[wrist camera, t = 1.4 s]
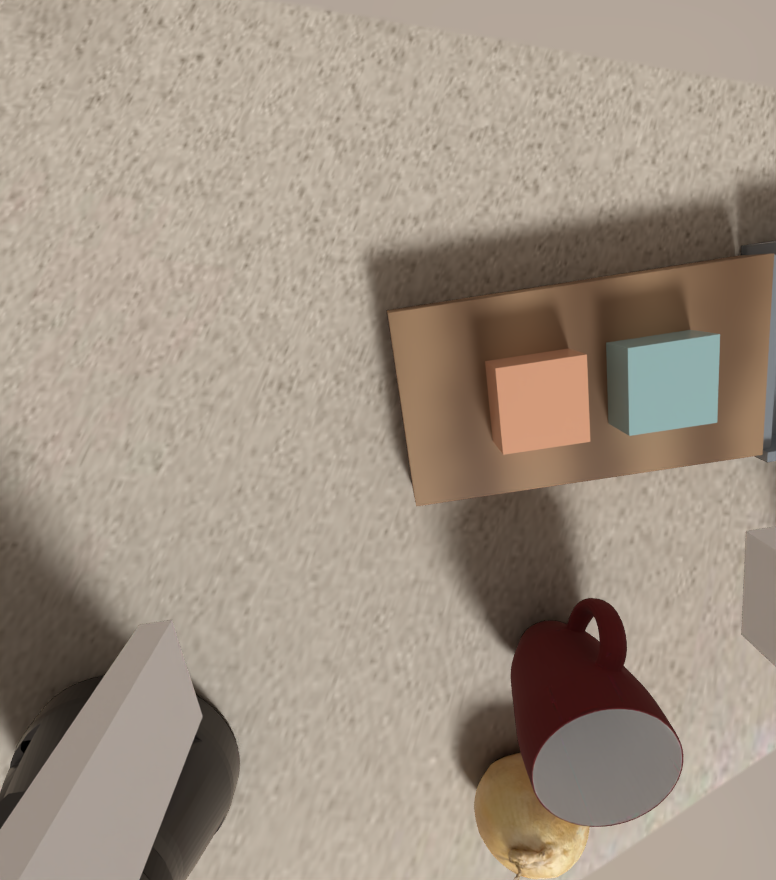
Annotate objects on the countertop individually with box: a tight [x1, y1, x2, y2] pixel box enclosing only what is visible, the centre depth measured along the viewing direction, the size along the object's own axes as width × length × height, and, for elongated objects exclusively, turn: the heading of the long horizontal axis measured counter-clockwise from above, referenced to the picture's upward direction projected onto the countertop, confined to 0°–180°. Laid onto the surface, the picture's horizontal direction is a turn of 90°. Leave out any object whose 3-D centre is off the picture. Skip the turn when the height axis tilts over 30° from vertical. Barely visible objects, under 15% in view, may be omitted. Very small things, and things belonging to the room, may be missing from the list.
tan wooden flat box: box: [387, 253, 774, 506], centre depth 30 cm, size 20×11×3 cm, turn 99°
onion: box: [474, 753, 590, 880], centre depth 37 cm, size 8×8×7 cm
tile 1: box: [606, 330, 720, 436], centre depth 27 cm, size 4×4×2 cm
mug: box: [511, 598, 683, 827], centre depth 32 cm, size 11×8×10 cm
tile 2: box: [485, 348, 590, 455], centre depth 28 cm, size 4×4×2 cm
